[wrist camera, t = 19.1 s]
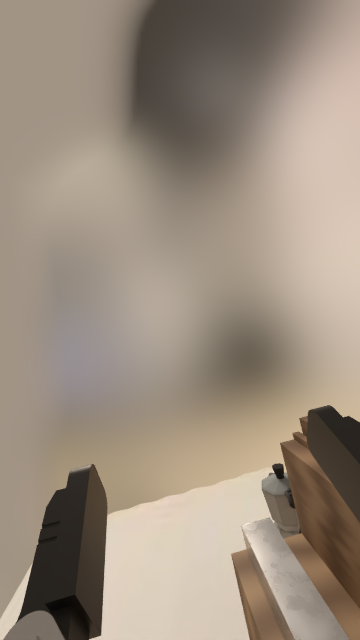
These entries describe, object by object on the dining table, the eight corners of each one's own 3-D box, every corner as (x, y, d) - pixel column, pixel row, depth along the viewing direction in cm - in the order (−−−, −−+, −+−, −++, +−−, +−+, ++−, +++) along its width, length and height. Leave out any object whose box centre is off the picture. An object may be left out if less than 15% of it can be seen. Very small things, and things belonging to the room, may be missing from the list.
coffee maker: (265, 541, 64) (247, 459, 66) (302, 529, 65) (283, 449, 67) (300, 599, 50) (275, 491, 51) (347, 582, 51) (321, 478, 52)
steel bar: (549, 1007, 10) (519, 898, 11) (463, 1051, 10) (434, 937, 10) (276, 548, 34) (269, 517, 35) (248, 556, 34) (241, 525, 34)
